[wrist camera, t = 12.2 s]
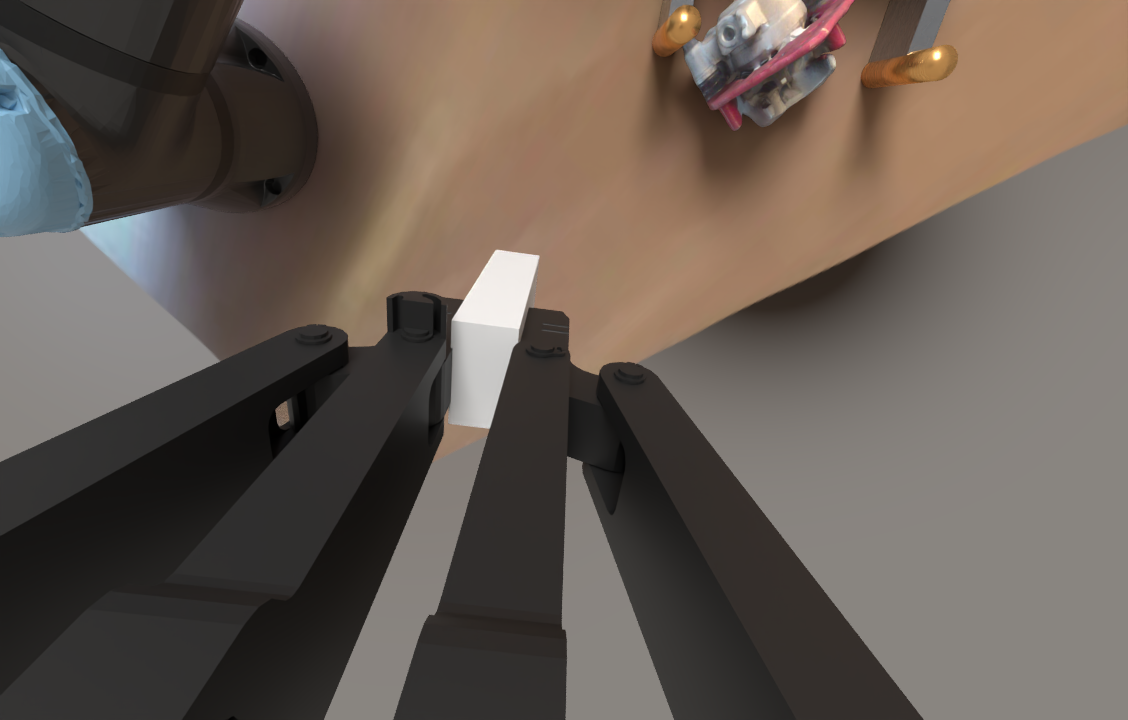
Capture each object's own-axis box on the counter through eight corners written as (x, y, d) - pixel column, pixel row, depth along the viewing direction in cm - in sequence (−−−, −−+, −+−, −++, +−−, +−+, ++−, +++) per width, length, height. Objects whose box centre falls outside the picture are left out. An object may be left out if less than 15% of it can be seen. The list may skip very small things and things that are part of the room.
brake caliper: (747, 180, 41) (735, 99, 30) (673, 93, 44) (637, -10, 33) (879, 80, 37) (919, -54, 26) (788, -7, 40) (790, -159, 30)
